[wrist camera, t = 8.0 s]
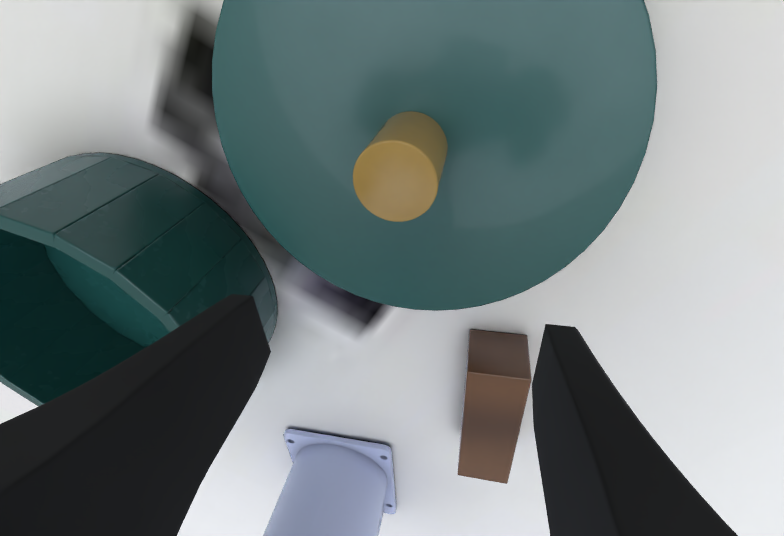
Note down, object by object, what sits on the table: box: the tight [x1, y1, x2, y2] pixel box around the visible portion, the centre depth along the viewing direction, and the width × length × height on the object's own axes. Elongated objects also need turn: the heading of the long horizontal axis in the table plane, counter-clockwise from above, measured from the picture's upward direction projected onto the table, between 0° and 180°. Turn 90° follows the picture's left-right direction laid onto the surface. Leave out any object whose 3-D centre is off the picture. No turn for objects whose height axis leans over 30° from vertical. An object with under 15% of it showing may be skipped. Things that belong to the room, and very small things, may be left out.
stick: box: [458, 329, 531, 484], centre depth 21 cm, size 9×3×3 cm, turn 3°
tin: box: [0, 153, 277, 406], centre depth 20 cm, size 14×14×6 cm
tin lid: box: [212, 0, 657, 311], centre depth 14 cm, size 15×15×4 cm
